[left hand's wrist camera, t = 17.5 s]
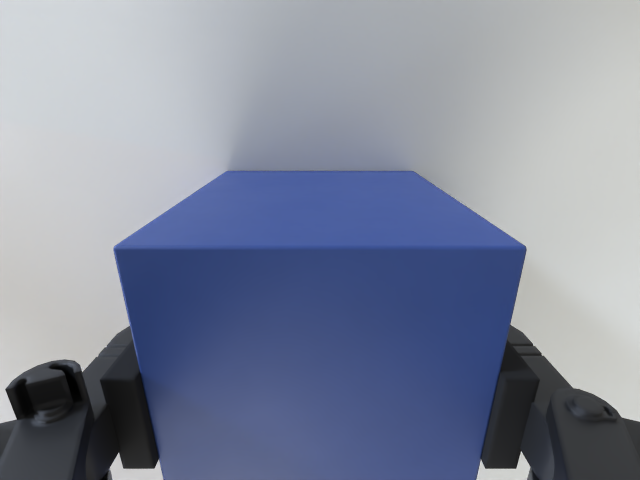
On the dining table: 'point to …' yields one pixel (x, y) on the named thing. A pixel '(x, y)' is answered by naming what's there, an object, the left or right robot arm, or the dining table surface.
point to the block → (319, 327)
